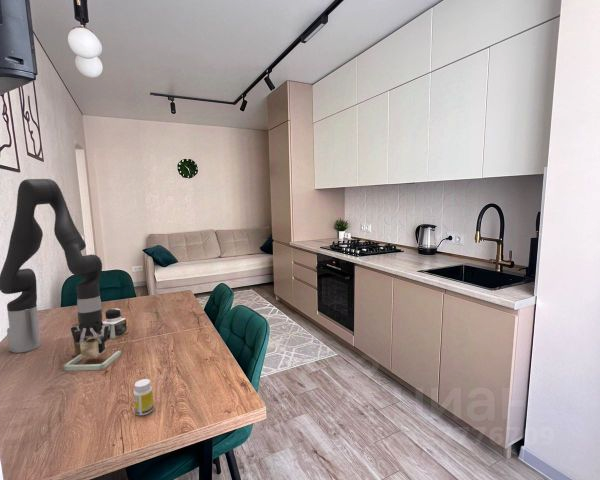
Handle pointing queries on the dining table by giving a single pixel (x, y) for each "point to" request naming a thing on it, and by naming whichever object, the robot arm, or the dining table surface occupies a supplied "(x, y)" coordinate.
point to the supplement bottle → (143, 397)
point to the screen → (78, 344)
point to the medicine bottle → (115, 323)
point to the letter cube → (90, 348)
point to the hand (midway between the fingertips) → (93, 352)
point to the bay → (102, 366)
